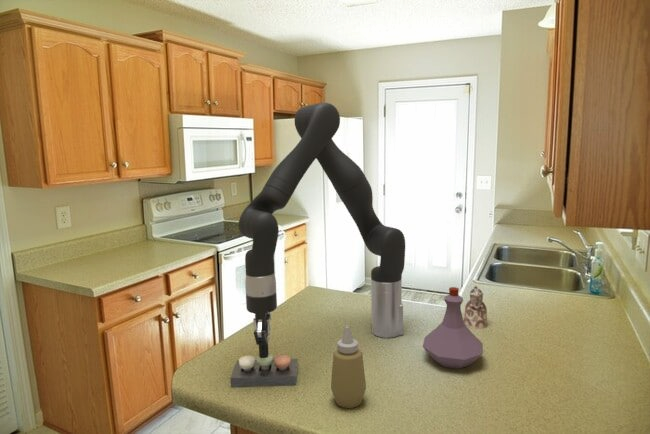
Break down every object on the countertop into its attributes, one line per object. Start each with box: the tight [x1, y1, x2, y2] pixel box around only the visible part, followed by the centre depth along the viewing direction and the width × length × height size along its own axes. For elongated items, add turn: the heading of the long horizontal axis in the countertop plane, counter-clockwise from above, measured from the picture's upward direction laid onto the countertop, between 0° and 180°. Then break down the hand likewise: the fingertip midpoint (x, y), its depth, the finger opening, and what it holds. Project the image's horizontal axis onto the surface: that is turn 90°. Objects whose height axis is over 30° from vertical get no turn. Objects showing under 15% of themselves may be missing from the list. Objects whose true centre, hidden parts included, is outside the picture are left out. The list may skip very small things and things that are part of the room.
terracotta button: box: [274, 354, 291, 370], centre depth 113 cm, size 4×4×4 cm
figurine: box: [463, 285, 488, 330], centre depth 142 cm, size 7×7×12 cm
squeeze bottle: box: [330, 325, 367, 409], centre depth 100 cm, size 8×8×18 cm
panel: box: [229, 358, 299, 388], centre depth 114 cm, size 16×9×2 cm, turn 90°
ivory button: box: [238, 355, 256, 372], centre depth 113 cm, size 4×4×4 cm
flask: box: [422, 286, 484, 370], centre depth 118 cm, size 16×16×20 cm
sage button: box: [256, 352, 274, 371], centre depth 113 cm, size 4×4×4 cm
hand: (264, 356), depth 113 cm, fingers closed
